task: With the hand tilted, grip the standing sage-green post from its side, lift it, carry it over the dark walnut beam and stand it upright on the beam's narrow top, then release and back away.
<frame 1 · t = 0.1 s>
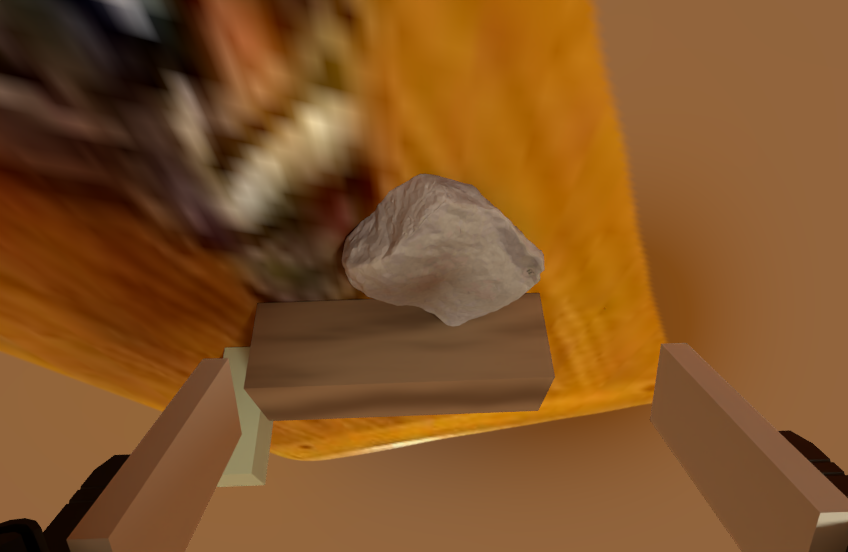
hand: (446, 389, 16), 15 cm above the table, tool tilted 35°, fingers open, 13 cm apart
stone block: (450, 231, 35), on the table
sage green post: (253, 356, 49), on the table
walnut beam: (400, 319, 44), on the table
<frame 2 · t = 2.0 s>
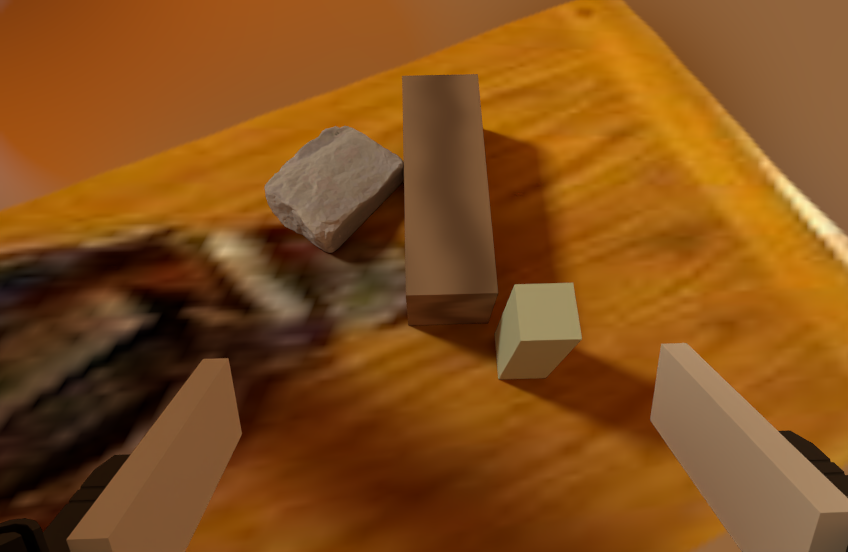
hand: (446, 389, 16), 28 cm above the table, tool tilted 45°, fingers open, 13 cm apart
stone block: (334, 193, 52), on the table
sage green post: (519, 355, 45), on the table
walnut beam: (442, 216, 51), on the table
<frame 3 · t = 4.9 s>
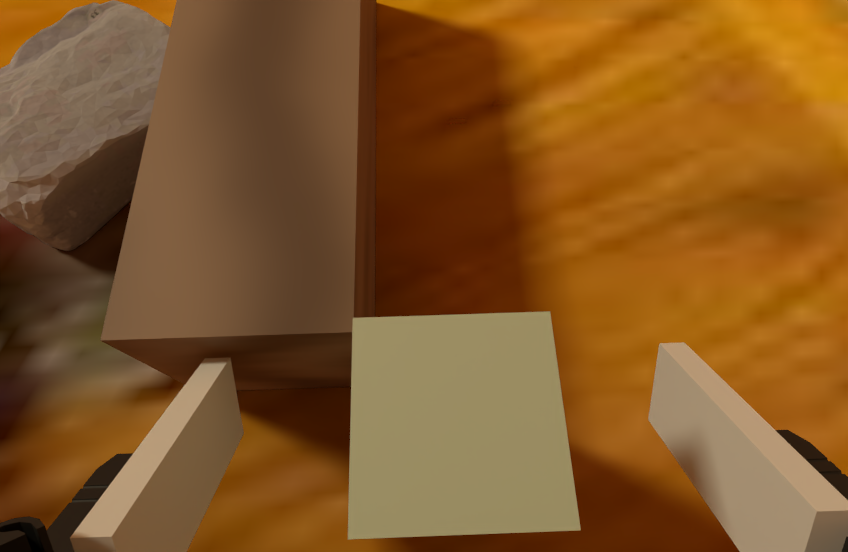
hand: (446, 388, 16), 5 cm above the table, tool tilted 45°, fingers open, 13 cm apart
stone block: (102, 134, 27), on the table, touching walnut beam
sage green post: (440, 462, 20), on the table
walnut beam: (303, 162, 25), on the table
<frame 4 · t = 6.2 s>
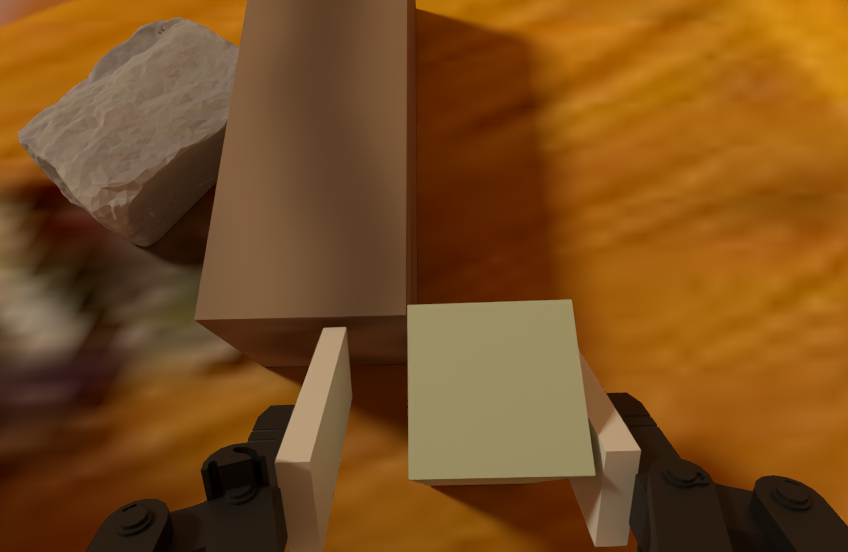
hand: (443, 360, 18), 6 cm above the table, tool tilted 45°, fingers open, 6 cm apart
stone block: (168, 140, 30), on the table
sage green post: (474, 433, 22), on the table, touching gripper
walnut beam: (350, 160, 28), on the table
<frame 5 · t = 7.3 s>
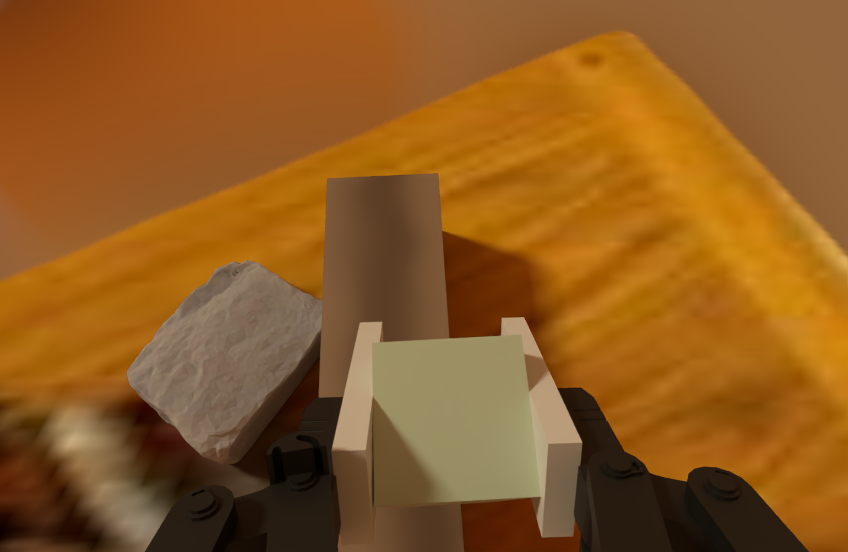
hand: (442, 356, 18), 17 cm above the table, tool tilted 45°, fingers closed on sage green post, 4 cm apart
stone block: (241, 357, 36), on the table
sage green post: (443, 455, 23), point 10 cm above the table, touching gripper
walnut beam: (393, 375, 35), on the table
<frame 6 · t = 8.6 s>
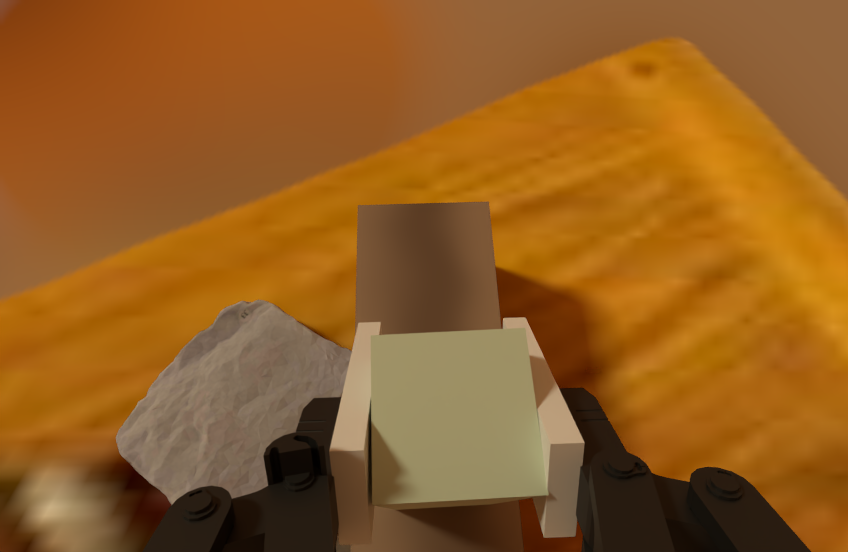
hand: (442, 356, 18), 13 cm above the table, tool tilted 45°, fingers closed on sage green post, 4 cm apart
stone block: (250, 412, 31), on the table
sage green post: (440, 456, 23), point 7 cm above the table, touching gripper, walnut beam
walnut beam: (429, 434, 30), on the table
when the fingers open (11 cm above the table, at t = 9.3 s): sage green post stays where it is, resting on walnut beam.
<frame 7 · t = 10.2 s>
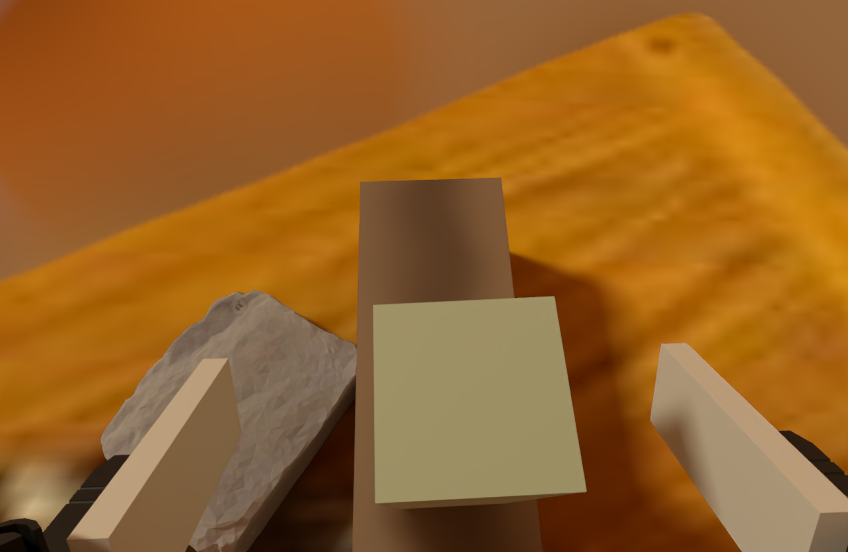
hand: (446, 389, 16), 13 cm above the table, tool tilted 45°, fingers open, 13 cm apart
stone block: (246, 411, 29), on the table
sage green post: (450, 451, 21), point 7 cm above the table, touching walnut beam
walnut beam: (437, 428, 28), on the table
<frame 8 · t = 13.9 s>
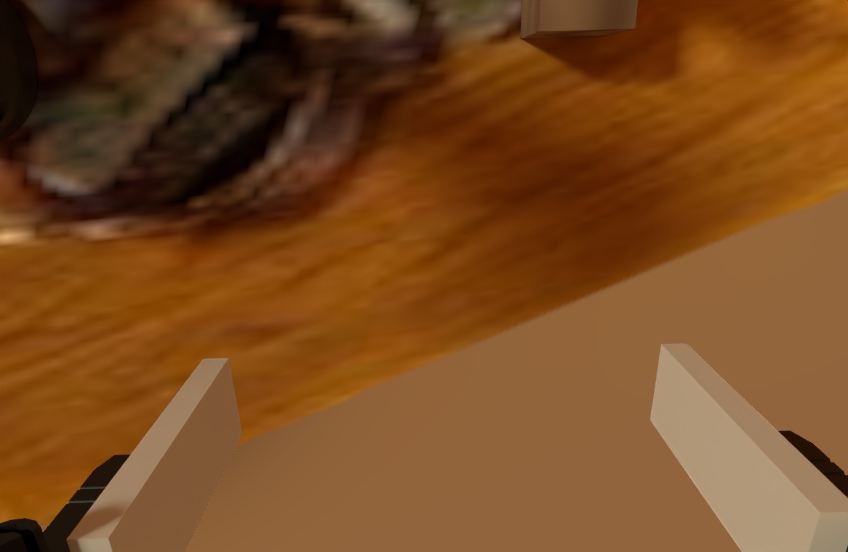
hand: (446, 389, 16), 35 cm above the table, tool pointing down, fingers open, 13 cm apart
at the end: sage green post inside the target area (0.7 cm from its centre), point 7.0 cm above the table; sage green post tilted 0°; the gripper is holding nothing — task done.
